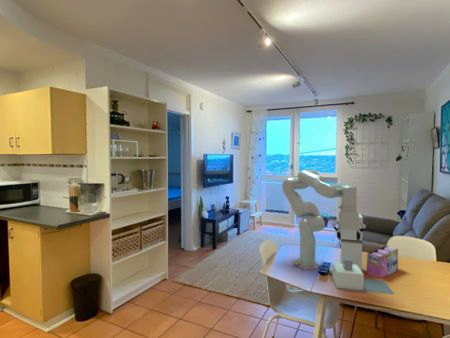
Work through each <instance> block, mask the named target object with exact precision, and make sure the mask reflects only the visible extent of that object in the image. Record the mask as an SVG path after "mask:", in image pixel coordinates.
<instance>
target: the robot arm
mask: <svg viewBox="0 0 450 338" xmlns="http://www.w3.org/2000/svg"><path fill="white" fill-rule="evenodd" d="M281 185H282V187H281V188H282V192H283V194H284V196H285V197H286V199H287V200H288V202H289V205H290V207H291V208H292V211H293V212H294V214H295V217H297V218H302V219H300V220H299V223H298V230H299V258H292V263H294V264H297V267H298V268H299V269H301V270H315V269H318V267H319V266H318V264H317V263H316V243H317V242H316V236H315V235H314V233H315V232H320V231H323V230H324V229H325V225H326V223H325V220H324V218H323V216H322V215H321V212H320V211H319V208H318V207H317V205H316V204H315V203H313V202H311V201H307V202H306V201H304V199H302V196H301V195H300V193H298V192H297V190H304V189H305V190H306V189H307V188H308V187H310V188H312V189H314V191H315V193H317V194H318V195H320V196H322V197H324V198H327V199H334V198H335V199H336V198H341V200H340V201H341V203H340V205H338V209H339V215H338V219H337V220H336V221H334V222H332V223H331V226H332V227H333V229H334V230H335V231H336V238H337V239H338V240H339V241H340V231H341V230H342V229H343V230H357V233H356V239H357V240H358V241H359V239H360V233H361V232H362V231H363V232H364V230H365V229H366V227H367V225H366V224H365V223H364V222H363V223H361V222H359V214H360V212H359V211H358V210H357V203H358V202H357V200H358V197H357V194H358V193H357V192H358V189H357V186H355V185H349V184H348V185H346V184H342V183H336V184H333V183H332V184H328V183H326V182H324V177H323V176H321V175H320V174H319V172H318V171H317V170H315V169H302V170H300V171H299V172H298V173H297V176H292V177H287V178H285V179H284V180H283V182H282V184H281ZM336 225H337V226H338V227H337V226H336ZM360 225H361V226H362V228H361V229H359V228H360Z"/></svg>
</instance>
